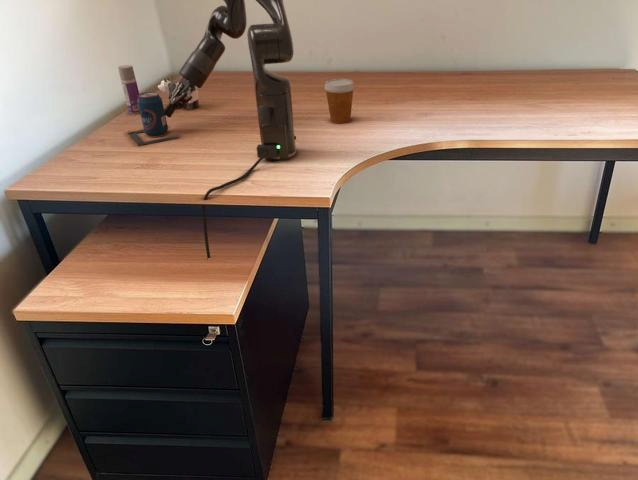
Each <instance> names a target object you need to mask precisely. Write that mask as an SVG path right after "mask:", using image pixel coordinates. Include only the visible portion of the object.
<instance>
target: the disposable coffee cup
mask: <svg viewBox="0 0 638 480" xmlns="http://www.w3.org/2000/svg"><path fill="white" fill-rule="evenodd" d="M323 88H324V90H325V93H326V99H327V105H328V111H329V116H330V122H331V123H334V124H346V123H349V122H351V117H352V107H353V105H352V104H353V95H354V89H355V84H354V81H353V80H351V79H347V78H332V79H328V80H326V81H325V83H324V86H323Z"/></svg>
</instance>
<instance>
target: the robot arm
mask: <svg viewBox="0 0 638 480" xmlns="http://www.w3.org/2000/svg"><path fill="white" fill-rule="evenodd" d="M222 1H223V2H224V3H225V5H219V6H217V7H216V8H215V9H214V10H213V11H212V12H211V15H210V17H209V20H208V22H207V26H206V29H205V31H204V35H203V36H202V38H201V39H200V41H199V43H198V44H197V45H196V47H195V49H194V50H193V51H192V52H191V53H190V55H189V56H188V58H187V59H186V60H185V62H184V63H183V65H182V66H181V68H180V69H179V71H178V74H179V75H181V77H182V78H180V79H179V80H178V81H177V82H178V83H177V84H175V83H174V84H173V86H172V89H171V92H170V95H169V94H168V98H167V99H168V104H167V105H166V107H164V112H165V117H167V118H171V117H172V116H173V114H174V113H175V111H176V110H177V109H181V108H183V107H184V106H185V105H187V104H186V103H187V102H189V101H190V100H191V99H192V96H191V94H192V92H193V90H194V87H195V86H196V88H197V89H201V88H203V86H204V84H205V83H206V81H207V80H208V78H209V77H210V75H212V72H213V71H214V69H215V67H216V65H217V64H218V62H219V60H220V59H221V57H222V56H223V55H224V53H225V51H226V45H225V44H224V42H223V41H222V36H223V34H225V35H226V36H227V37H229V38H231V39H235V40H237V39H240V38H242V36H243V35H244V34H245V32H246V29H247V24H248V22H247V21H248V19H247V18H248V17H247V9H246V8H247V7H246V1H245V0H222ZM255 2H256V3H258V4H259V5H260V6H261V7H262V8H263V9H264V10H265V12H266V13H267V14H268V15H269V17H270V19H271V21H272V23H259V24H250V25H249V26H248V29H247V45H248V51H249V55H250V61H251V69H252V75H253V77H252V78H253V84H254V94H255V102H256V103H255V104H256V112H257V119H258V127H259V129H258V130H259V136H260V144H257V146H256V155H257V160H256V162H255V163H253V165H252V166H251V167H250V168H249V169H248V170H247V171H246V172H245V173H244V174H243V175H241V176H239V177H238V178H235V179H232V180H230V181H228V182H227V181H226V183H223V184H221V185H218V186H215V187H212V188H210V189H208V191H206V193H205V195H204V196H203V198H202V201H207V200H208V198H209V195H210V194H211V193H213V192H215V191H218V190H221V189H223V188H226V187H228V186H230V185H234V184H236V183H238V182H240V181H242V180H243V179H245V178H246V177H248V176H249V175H250V174H251V172H252V171H253V170H254V169H256V167H257V166H258V165H259V164H260V163H261V161H262V160H264V159H265V160H266V161H268V160H269V161H282V160H283V161H287V160H289V159H290V158H292V157H294V156H296V155H297V148H296V141H297V136H296V134H295V125H294V111H293V102H292V89H291V88H292V87H291V82H290V79H289V78H288V77H286V76H283V75H280V74H277V73H274V72H272V71H270V70H268V69H267V68H266V67H265V65H273V64H285V63H289V62H291V61H292V60H293V57H294V42H293V37H292V31H291V28H290V24H289V21H288V16H287V12H286V9H285V4H284V0H255ZM201 209H202V221H203V234H204V244H205V251H206V257H207V259H208V258H211V252H210V245H209V236H208V224H207V222H208V221H207V210H206V209H207V208H206V205H202V207H201Z"/></svg>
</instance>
